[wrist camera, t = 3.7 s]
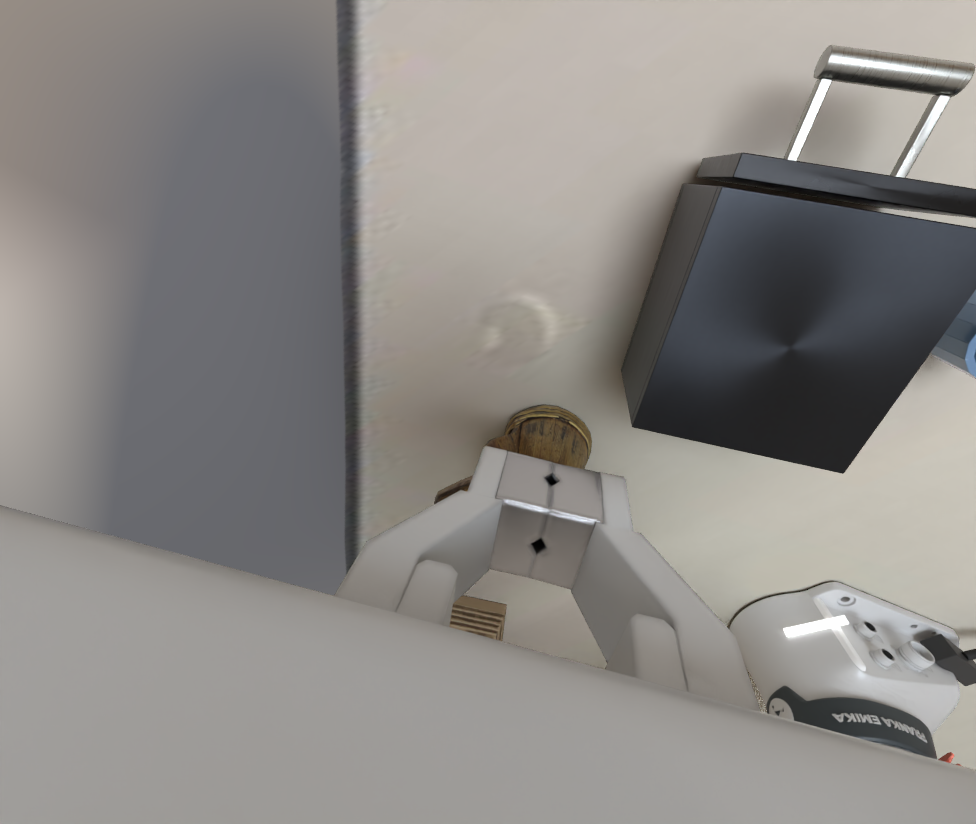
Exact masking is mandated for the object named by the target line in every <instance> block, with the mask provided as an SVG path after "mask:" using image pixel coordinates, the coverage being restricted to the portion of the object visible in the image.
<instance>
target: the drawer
mask: <svg viewBox="0 0 976 824" xmlns="http://www.w3.org/2000/svg"><path fill="white" fill-rule="evenodd" d="M974 71H975V65H974V64H972V63H964V62H956V61H949V60H941V59H934V58H926V57H918V56H911V55H903V54H895V53H888V52H880V51H873V50H865V49H857V48H850V47H842V46H834V45H830V46H829V47H827V48H826V50H825V51H824V52H823V54H822V55H821V57H820V59H819V61H818V63H817V65H816V68H815V71H814V78H816V79H819V80H817V81H816V84H815V86H814V88H813V91H812V93H811V95H810V98H809V100H808V102H807V105H806V107H805V109H804V112H803V114H802V116H801V119H800V121H799V124H798V126H797V128H796V131H795V133H794V135H793V138H792V140H791V142H790V145H789V147H788V149H787V152H786V154H785V156H784V159H781V158H774V157H768V156H762V155H755V154H749V153H736V154H730V155H723V156H716V157H709V158H703V159H702V162H701V165H700V167H699V170H698V173H697V176H696V177H698V178H704V179H710V180H716V181H722V182H728V183H734V184H740V185H747V186H753V187H759V188H765V189H771V190H777V191H783V192H789V193H795V194H802V195H808V196H814V197H820V198H826V199H832V200H838V201H844V202H850V203H857V204H863V205H869V206H875V207H881V208H887V209H894V210H904V211H913V212H923V213H932V214H941V215H951V216H960V217H970V218H976V189H972V188H966V187H959V186H953V185H947V184H940V183H934V182H928V181H921V180H915V179H908V178H906V176H907V174H908V173H909V171H910V169H911V167H912V166H913V164H914V162H915V160H916V158H917V157H918V155H919V153H920V151H921V150H922V148H923V146H924V144H925V142H926V141H927V139H928V137H929V135H930V134H931V132H932V130H933V128H934V126H935V125H936V123H937V121H938V119H939V118H940V116H941V114H942V112H943V110H944V109H945V107H946V105H947V103H948V102H949V100H950V98H951V97H953V96H955V95H957V94H958V93H959V92H961V91H962V90H963V89H964V88H965V86H966V85H967V84H968V83H969V81H970V80H971V78H972V76H973V74H974ZM832 81H838V82H845V83H852V84H859V85H867V86H874V87H881V88H888V89H896V90H903V91H910V92H917V93H924V94H932V95H936V96H933V97H932V99H931V101H930V102H929V104H928V106H927V108H926V110H925V112H924V113H923V115H922V117H921V119H920V121H919V123H918V125H917V126H916V128H915V130H914V132H913V134H912V136H911V137H910V139H909V141H908V143H907V145H906V147H905V148H904V150H903V152H902V154H901V156H900V158H899V159H898V161H897V163H896V165H895V167H894V169H893V170H892V172H891V174H890V176H889V175H883V174H876V173H870V172H864V171H857V170H851V169H845V168H838V167H832V166H825V165H819V164H813V163H806V162H800V161H797V159H798V157H799V155H800V153H801V150H802V148H803V146H804V144H805V141H806V139H807V137H808V134H809V132H810V130H811V128H812V125H813V123H814V121H815V119H816V116H817V114H818V112H819V110H820V107H821V105H822V103H823V100H824V98H825V96H826V94H827V91H828V89H829V87H830V85H831V82H832Z"/></svg>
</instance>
